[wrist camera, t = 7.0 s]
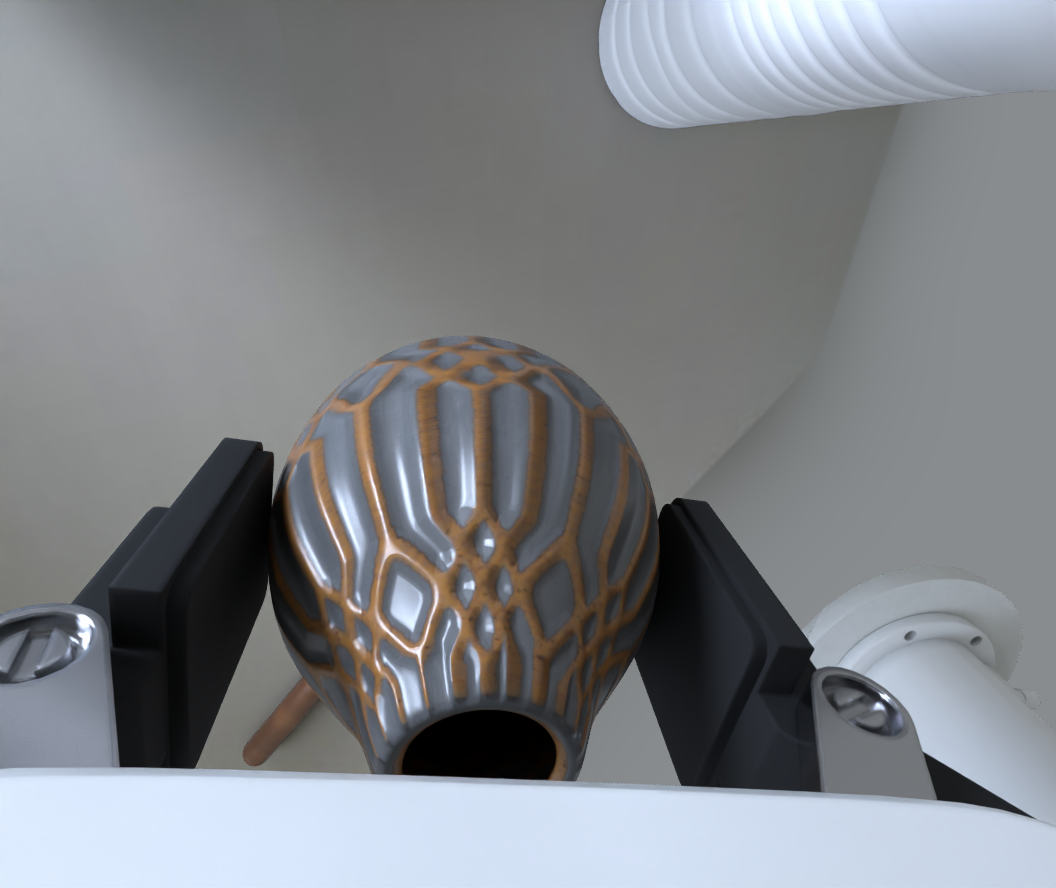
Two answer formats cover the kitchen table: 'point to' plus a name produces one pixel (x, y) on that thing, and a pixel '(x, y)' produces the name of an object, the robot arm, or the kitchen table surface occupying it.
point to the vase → (464, 559)
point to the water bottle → (817, 55)
